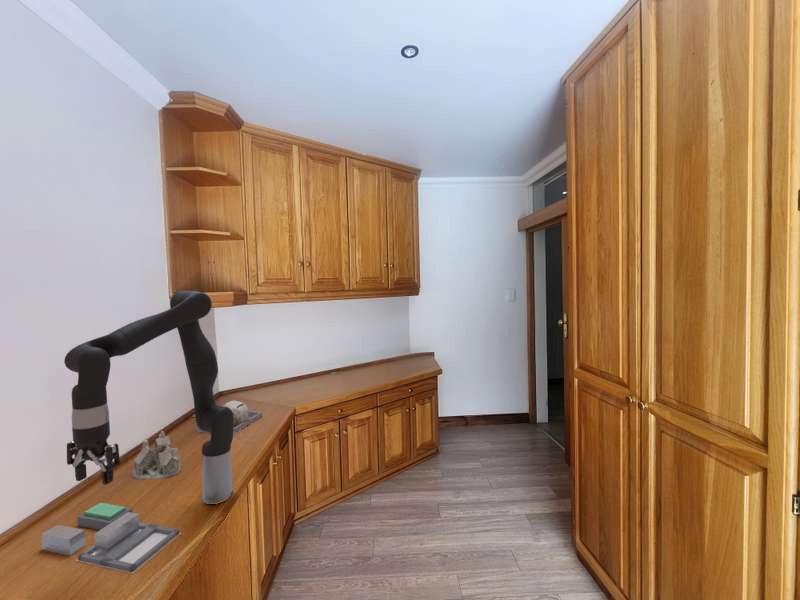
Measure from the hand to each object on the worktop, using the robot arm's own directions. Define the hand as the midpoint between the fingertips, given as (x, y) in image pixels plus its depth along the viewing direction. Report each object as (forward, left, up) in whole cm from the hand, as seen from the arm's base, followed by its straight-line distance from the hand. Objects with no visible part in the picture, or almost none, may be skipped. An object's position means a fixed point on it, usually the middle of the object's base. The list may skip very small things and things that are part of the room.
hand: (94, 481), depth 99 cm
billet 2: (-8, -3, -23) cm, 25 cm away
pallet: (-8, +2, -25) cm, 26 cm away
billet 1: (-3, -16, -25) cm, 29 cm away
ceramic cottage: (-46, -28, -25) cm, 59 cm away
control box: (-15, -16, -25) cm, 33 cm away
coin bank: (-96, -32, -25) cm, 104 cm away
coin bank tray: (-96, -32, -25) cm, 104 cm away
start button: (-15, -16, -21) cm, 30 cm away
